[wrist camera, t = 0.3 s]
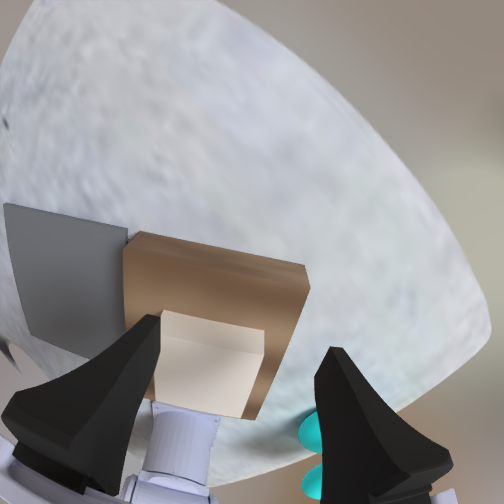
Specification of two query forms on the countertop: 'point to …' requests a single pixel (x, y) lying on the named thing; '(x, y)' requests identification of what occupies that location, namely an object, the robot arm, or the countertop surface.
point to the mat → (68, 278)
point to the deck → (216, 295)
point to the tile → (207, 364)
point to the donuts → (312, 441)
